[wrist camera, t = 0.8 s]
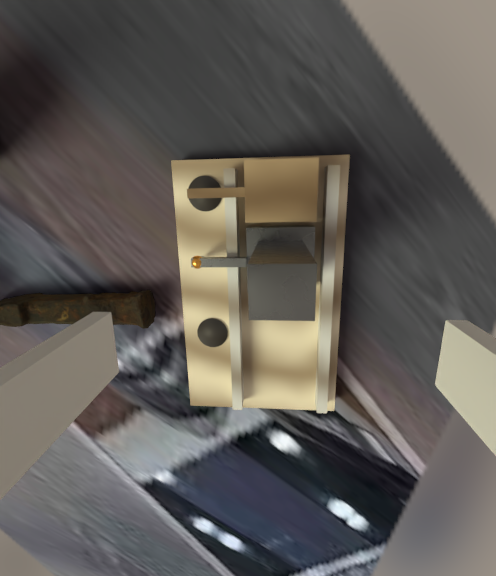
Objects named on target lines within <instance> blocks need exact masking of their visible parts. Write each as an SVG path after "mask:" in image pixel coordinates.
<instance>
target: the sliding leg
mask: <svg viewBox="0 0 496 576" xmlns="http://www.w3.org/2000/svg"><path fill="white" fill-rule="evenodd" d="M246 243H247V257H204V256H194V257H192V258H191V267H194V268H196V269H199V268H201V267H247V289H248V308H249V320H274V321H315V307H316V281H317V263H316V261H315V260H314V254H315V226H313V225H293V226H248V227H247V228H246Z"/></svg>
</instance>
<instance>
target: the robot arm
mask: <svg viewBox="0 0 496 576" xmlns="http://www.w3.org/2000/svg"><path fill="white" fill-rule="evenodd" d="M118 372H119V368H118V361H117V353H116V345H115V338H114V330H113V322H112V315H111V312H92V313H91V314H89V315H87V316H86V317H84V318H82V319H81V320H79V321H77V322H76V323H74V324H72V325H71V326H69V327H67V328H66V329H64V330H62V331H61V332H59V333H57V334H56V335H54V336H52V337H51V338H49V339H47V340H46V341H44V342H42V343H41V344H39V345H37V346H36V347H34V348H32V349H31V350H29V351H28V352H26V353H24V354H23V355H21V356H19V357H18V358H16V359H14V360H13V361H11V362H9V363H8V364H6V365H4V366H3V367H1V368H0V500H1V499H2V498H3V497H4V496H5V494H6V493H7V492H8V491H9V490H10V489H11V488H12V487H13V486H14V485H15V484H16V483H17V481H18V480H19V479H20V478H21V477H22V476H23V475H24V474H25V473H26V472H27V471H28V470H29V469H30V467H31V466H32V465H33V464H34V463H35V462H36V461H37V460H38V459H39V458H40V457H41V456H42V454H43V453H44V452H45V451H46V450H47V449H48V448H49V447H50V446H51V445H52V444H53V443H54V442H55V440H56V439H57V438H58V437H59V436H60V435H61V434H62V433H63V432H64V431H65V430H66V429H67V427H68V426H69V425H70V424H71V423H72V422H73V421H74V420H75V419H76V418H77V417H78V416H79V415H80V413H81V412H82V411H83V410H84V409H85V408H86V407H87V406H88V405H89V404H90V403H91V402H92V400H93V399H94V398H95V397H96V396H97V395H98V394H99V393H100V392H101V391H102V390H103V389H104V388H105V386H106V385H107V384H108V383H109V382H110V381H111V380H112V379H113V378H114V377H115V376H116V375H117V374H118ZM435 385H436V387H437V388H438V389H439V390H440V391H441V392H442V394H443V395H444V396H445V397H446V398H447V399H448V401H449V402H450V403H451V404H452V405H453V407H454V408H455V409H456V410H457V411H458V412H459V413H460V415H461V416H462V417H463V418H464V419H465V420H466V422H467V423H468V424H469V425H470V426H471V427H472V429H473V430H474V431H475V432H476V433H477V435H478V436H479V437H480V438H481V439H482V440H483V442H484V443H485V444H486V445H487V446H488V447H489V448H490V450H491V451H492V452H493V453H494V454H495V456H496V338H494V337H493V336H491V335H490V334H488V333H486V332H485V331H483V330H482V329H480V328H478V327H477V326H475V325H474V324H472V323H471V322H469V321H466V320H446V322H445V328H444V334H443V340H442V346H441V352H440V358H439V364H438V370H437V376H436V382H435Z"/></svg>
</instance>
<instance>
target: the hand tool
mask: <svg viewBox="0 0 496 576" xmlns="http://www.w3.org/2000/svg"><path fill="white" fill-rule="evenodd" d="M92 312H111V315H112V322H113V325H116V324H122V325H124V324H129V325H138V326H140V327H141V328H148V327H149V326H150V325H151V324H152V323H153V322H154V317H155V302H154V297H153V294H152V292H151V291H150V290H147V291H141V292H134V291H132V292H130V293H129V294H126V293H100V294H91V293H90V294H57V295H43V294H42V293H36V294H27V295H21V296H17V297H14V298H9V299H8V298H6V299H3V300H2V301H0V325H4V326H12V327H17V326H23V325H25V324H43V323H55V324H74V323H76V322H77V321H79V320H81V319H82V318H84V317H86V316H87V315H89V314H91V313H92Z"/></svg>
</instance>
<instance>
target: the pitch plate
mask: <svg viewBox="0 0 496 576" xmlns="http://www.w3.org/2000/svg"><path fill="white" fill-rule="evenodd" d="M349 160H350V155H322V156H292V157H263V158H233V159H203V160H173V161H171V164H172V176H173V189H174V202H175V214H176V227H177V239H178V252H179V265H180V277H181V290H182V302H183V315H184V328H185V340H186V353H187V365H188V378H189V391H190V403H191V405H194V406H220V407H233V410H242V407H246V408H272V409H298V410H317V413H327V411H334V407H335V390H336V374H337V357H338V341H339V324H340V308H341V291H342V275H343V258H344V242H345V225H346V209H347V193H348V176H349ZM293 225H313V226H315V254H314V260H315V261H316V263H317V281H316V307H315V321H274V320H249V308H248V289H247V267H201V268H199V269H196V268H194V267H191V258H192V257H194V256H204V257H247V243H246V228H247V227H248V226H293Z"/></svg>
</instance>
